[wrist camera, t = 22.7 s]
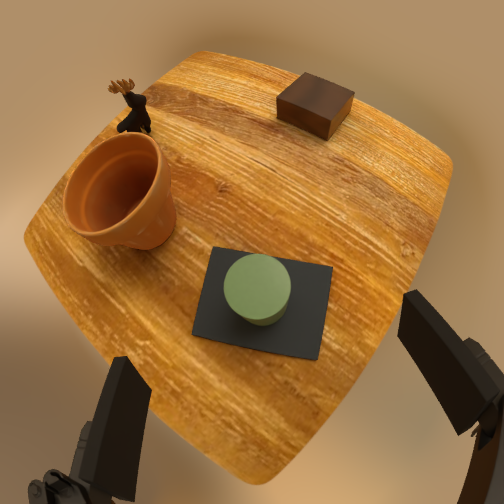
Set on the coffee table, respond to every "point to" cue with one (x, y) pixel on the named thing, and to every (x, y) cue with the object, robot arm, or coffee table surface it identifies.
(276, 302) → the green canister
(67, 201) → the flower pot
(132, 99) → the figurine
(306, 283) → the slate mat
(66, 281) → the coffee table surface
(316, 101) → the dark brown square block
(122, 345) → the coffee table surface
